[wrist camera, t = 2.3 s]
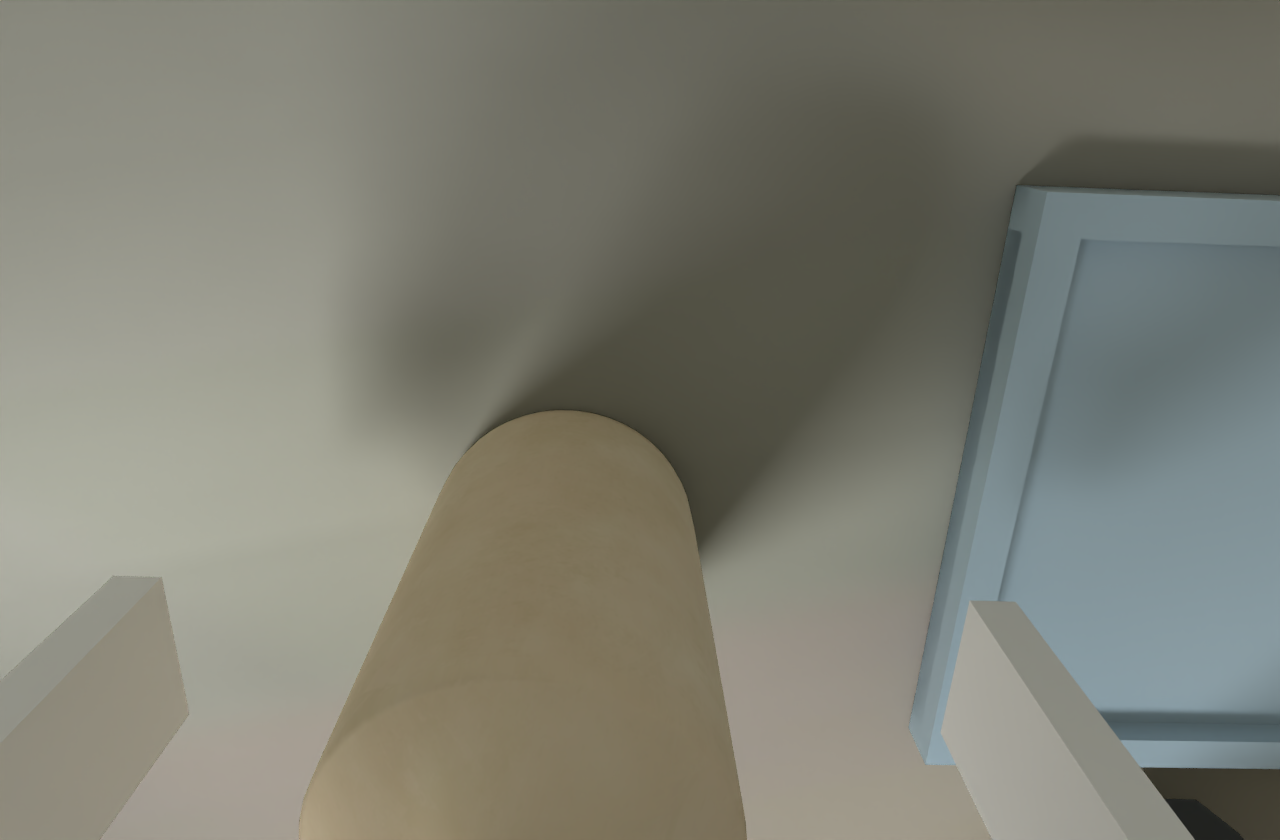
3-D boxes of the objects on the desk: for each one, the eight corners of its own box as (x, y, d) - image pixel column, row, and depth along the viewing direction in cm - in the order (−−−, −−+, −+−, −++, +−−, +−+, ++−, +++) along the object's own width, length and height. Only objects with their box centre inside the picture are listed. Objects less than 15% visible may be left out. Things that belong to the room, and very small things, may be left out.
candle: (639, 655, 19) (658, 1168, 10) (411, 588, 19) (203, 1080, 9) (729, 454, 18) (854, 855, 8) (481, 369, 17) (309, 710, 7)
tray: (908, 728, 20) (925, 764, 19) (1017, 184, 16) (1047, 191, 15) (1414, 735, 21) (1459, 771, 20) (1668, 210, 16) (1747, 218, 15)
